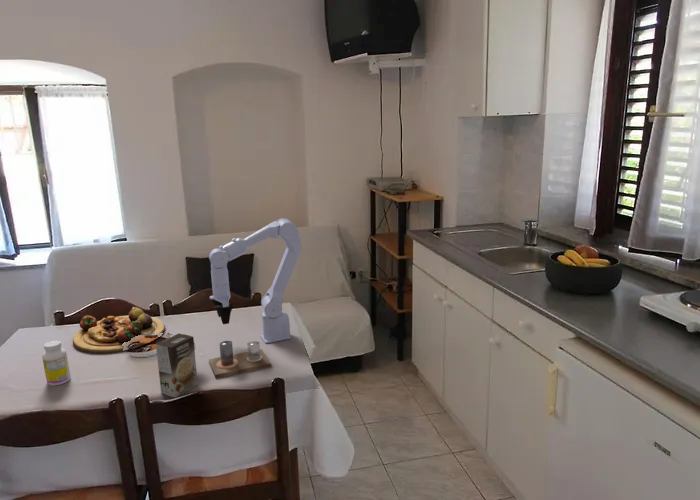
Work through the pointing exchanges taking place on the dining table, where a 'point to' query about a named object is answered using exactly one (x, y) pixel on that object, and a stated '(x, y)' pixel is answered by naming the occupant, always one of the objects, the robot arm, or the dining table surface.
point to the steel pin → (226, 353)
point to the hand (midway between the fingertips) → (223, 319)
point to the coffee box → (176, 364)
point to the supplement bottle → (55, 363)
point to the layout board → (241, 362)
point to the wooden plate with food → (114, 331)
